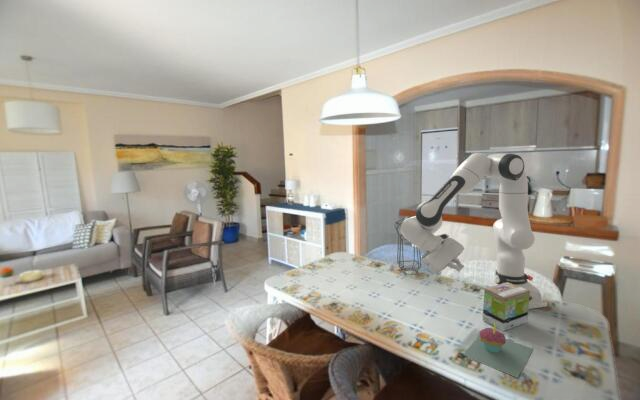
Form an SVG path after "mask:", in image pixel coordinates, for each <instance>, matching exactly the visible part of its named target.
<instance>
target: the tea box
mask: <svg viewBox="0 0 640 400" xmlns="http://www.w3.org/2000/svg"><path fill="white" fill-rule="evenodd" d="M483 291H484V294H483V295H484V296H483V304H482V305H483V306H482V321H484V322H485V323H487V324H489V325H491V326H493V327H494V322H495V321H496V329H497V330H500V331H502V332H505V331H507V330H510V329H513V328H515V327H518V326H522V325H524V324H527V323H528V316H529V309H528V307H529V296H530V290H527V289H524V288H522V287H519V286H517V285H514V284H512V283H509V282H506V283H503V284H499V285H496V286H495V285H493V286H489V287H486V288H484V290H483Z"/></svg>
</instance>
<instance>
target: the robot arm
mask: <svg viewBox="0 0 640 400" xmlns="http://www.w3.org/2000/svg"><path fill="white" fill-rule="evenodd" d="M484 178H489V179H498V180H499V187H498V189H499V191H498V209H499V213H500V216H501V218H499V219H497V220H495V222H494V223H493V225H492V230H493V233H494V241H495V242H494V243H495V248H496V269H495V274H494V281H495V282H494V283H495V284H494V286H496V285H499V284H503V283H506V282H509V283H512V284H514V285H517V286H519V287H522V288H524V289H527V290H530V296H529V307H528V310H531V309H538V308H546V307H548V302H547V301H546V300H545V299H544V298H543V297H542V293H541V291H540V289H538V288H537V287H536V286H535V285H533V284H532V283H530V282H529V281H533V280H534V277H533V276H531V275H529V274H527V273H525V264H526V263H525V262H526V261H525V260H526V258H525V255H524V253H523V250H527V249H529V248H531V247H532V246H533V245H534V243H535V235H534V233H533V231H532V227H531V222H530V217H529V213H528V212H529V211H528V205H529V204H528V203H529V202H528V201H529V200H528V197H529V184H528V176H527V173H526V171H525V161H524V159H523V158H522V156H520V155H518V154H515V153H503V152H502V153H500V152H499V153H494V154H484V153H482V152H474V153H473V154H471V155H469V156H468V157H467V158H466V159H465V160H464V161H463V162H461V164H460V165H459V166H458V167H457V168H456V170H454V171H453V173H452V175H450V177H449V178H448V179H447V181H446V182H445V183H444V184H442V186H441V187H440V188H439V189H438V190H437V191H436V192H435V193H434V194H433V195H432V196H431V198H429V199H426V200H425V201H423V202H421V203H420V204H418V206H417V207H416V208H415V213H414V214H415V216H411V218H406V219H405V220H404V221H403V223H402V224H401V226H400V227H401V228H400V227H399V230H400V235H401V234H402V235H403V236H402V237H403V238H405V239H407V240H406V241H408V242H409V243H411V244H412V245H413V246H414V245H415V247H416V246H417V247H418V251H419V250H420V252H422V255H421V263H422V264H424V265H425V266H426V267H427V269H429V270H430V272H431V273H433V274H434V275H438V276H439V274H440V273H442V271H444V270H445V269H446V268H447V267H448V268H449V269H453V270H455V271H457V272H458V273H460V272H461V271H462V270H463V269H464V267H465V265H464V264H463V263H462V262H461V261H460V258H458V257H459V256H460V255H462V253H463V251H464V250H465V247H464V246H463V244H461V243H460V242H459V241H457V240H455V239H454V238H452V237H450V235H449V234H448V233H442V234H438V235H435V233H436V232H437V231H439V229H440V228H441V227H442V225H443V216H442V214H443V211H444V208H445V207H446V206H447V205H448V204H449V203H450V202H451V201H452V200H453V199H454V198H455V196H457V195H459V194H469V193H471V192H472V191H473V190H475V188H477V186H478V185H479V184H480V183H481V182H482V180H483V179H484ZM417 247H416V248H417Z"/></svg>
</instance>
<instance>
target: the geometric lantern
mask: <svg viewBox="0 0 640 400" xmlns="http://www.w3.org/2000/svg"><path fill="white" fill-rule="evenodd" d="M411 217H412V216H410V215H406V216H404V217H402V218H401V219H399V220H397V221H396V222H394V223H393V225H394V228H395V230H396V234H397V251H398V252H397V255H396V257H397V258H396V261H397V262H396V263H397V265H398V268H399V269H401V271H402V273H403V274H404V275H406V272H413V273H412V275H418V274H419V273H418V271H419V270H420V269H421V268H422V267H423V266H422V261H421V256H422V255H421V250H419V248H418V247H417V246H416V245H413V263H412V265H411V266H408V265H405V262H411V260H404V241H408V240H407V239H406V238H405V239H404V236H403V235H402V234H401V233H400V232H399V229H400V228H401V225H402V223H403V221H404V220H405V219H406V218H411ZM415 247H416V252H415ZM401 251H402V253H401ZM415 253H416V254H415ZM401 256H402V257H401ZM415 256H416V258H417V260H416V259H415ZM401 258H402V260H401ZM415 263H416V264H415ZM416 265H417V267H416ZM414 271H415V273H414Z"/></svg>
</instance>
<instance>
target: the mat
mask: <svg viewBox="0 0 640 400" xmlns="http://www.w3.org/2000/svg"><path fill="white" fill-rule="evenodd" d="M505 339H506V343H505V344H504V345H503V346H502V347H501V349H500V351H499V352H497V353H494V352H490V351H488V350H487V349H486V348H485V345H484V343H483V341H481V340H480V337H479V335H478V336H477V337H476V339H475V340H474V341H473V342H472V343H471V345H469V347H468V348H467V349H466V351H464V353H463V354H462V355H463V356H465V357H467V358H470V359H472V360H473V361H474V360H475V361H477V362H478V363H481V364H482V365H485V366H488V367H491V368H492V369H495V370H497V371H500V372H502V373H504V374H507V375H509V376H512V377H514V378H516V379H518V378H519V376H520V374H521V373H522V371H523V368H524V367H525V365H526V363H527V361H528V360H529V358H530V356H531V354H532V352H533V350H534V348H532V347H529V346H526V345H524V344H521V343H519V342H516V341H514V340H513V341H512V340H511V339H510V340H509V339H507V338H505Z"/></svg>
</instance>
